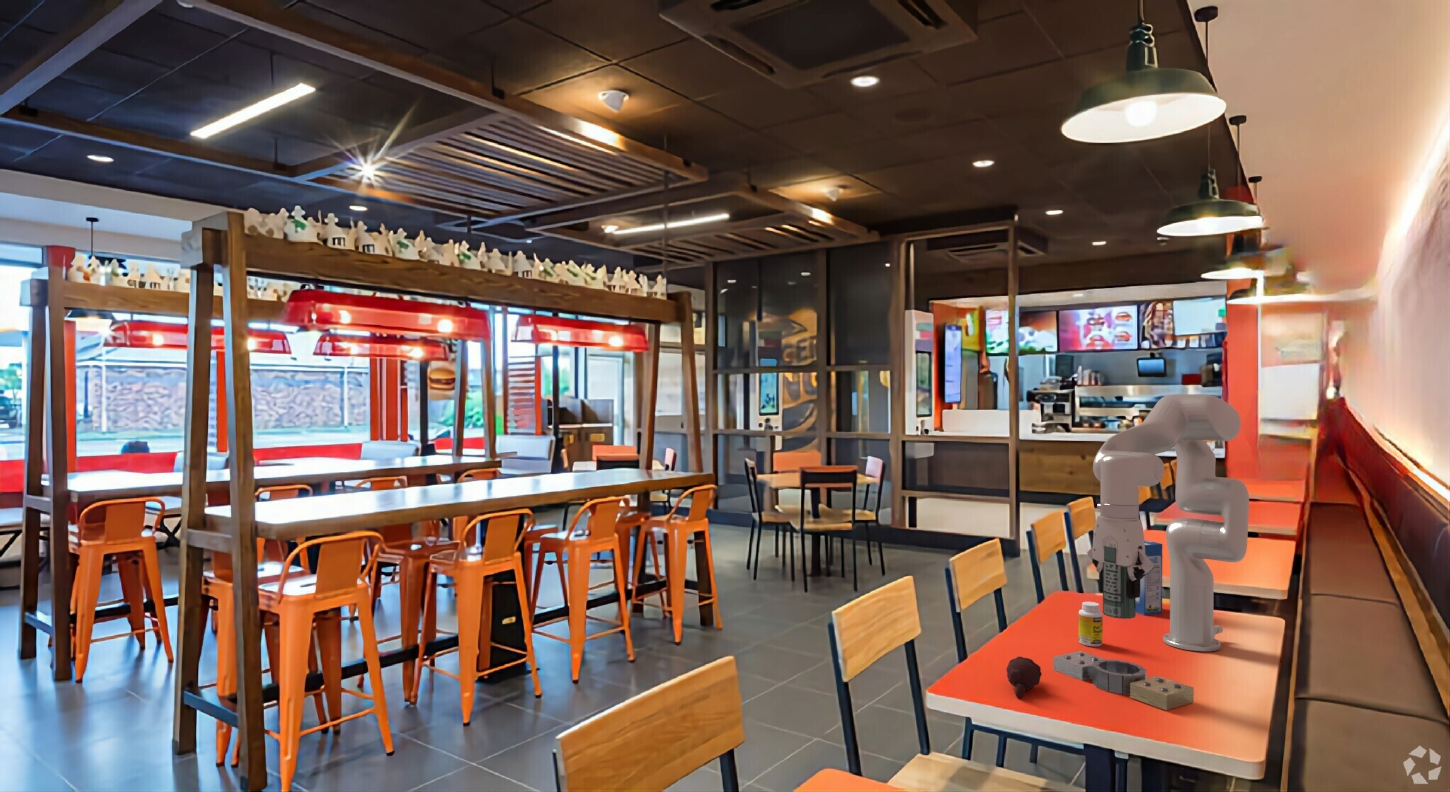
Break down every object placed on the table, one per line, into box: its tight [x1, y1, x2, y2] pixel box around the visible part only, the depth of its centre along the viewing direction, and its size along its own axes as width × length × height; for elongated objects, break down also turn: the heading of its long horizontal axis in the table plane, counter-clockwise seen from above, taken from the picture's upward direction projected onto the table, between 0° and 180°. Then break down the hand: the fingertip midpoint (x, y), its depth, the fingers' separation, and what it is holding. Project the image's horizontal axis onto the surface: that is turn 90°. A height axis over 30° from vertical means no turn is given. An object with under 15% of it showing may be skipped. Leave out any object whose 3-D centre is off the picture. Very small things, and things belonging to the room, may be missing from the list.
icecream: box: [1006, 656, 1042, 699], centre depth 179 cm, size 7×7×15 cm
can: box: [1102, 546, 1137, 620], centre depth 180 cm, size 6×6×15 cm
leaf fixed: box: [1052, 650, 1148, 696], centre depth 184 cm, size 10×19×4 cm, turn 27°
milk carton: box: [1136, 539, 1163, 616], centre depth 240 cm, size 10×6×20 cm, turn 16°
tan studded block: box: [1129, 675, 1195, 711], centre depth 172 cm, size 9×8×3 cm
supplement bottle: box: [1078, 601, 1104, 648], centre depth 209 cm, size 6×6×10 cm
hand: (1119, 593), depth 180 cm, fingers closed on can, 6 cm apart
